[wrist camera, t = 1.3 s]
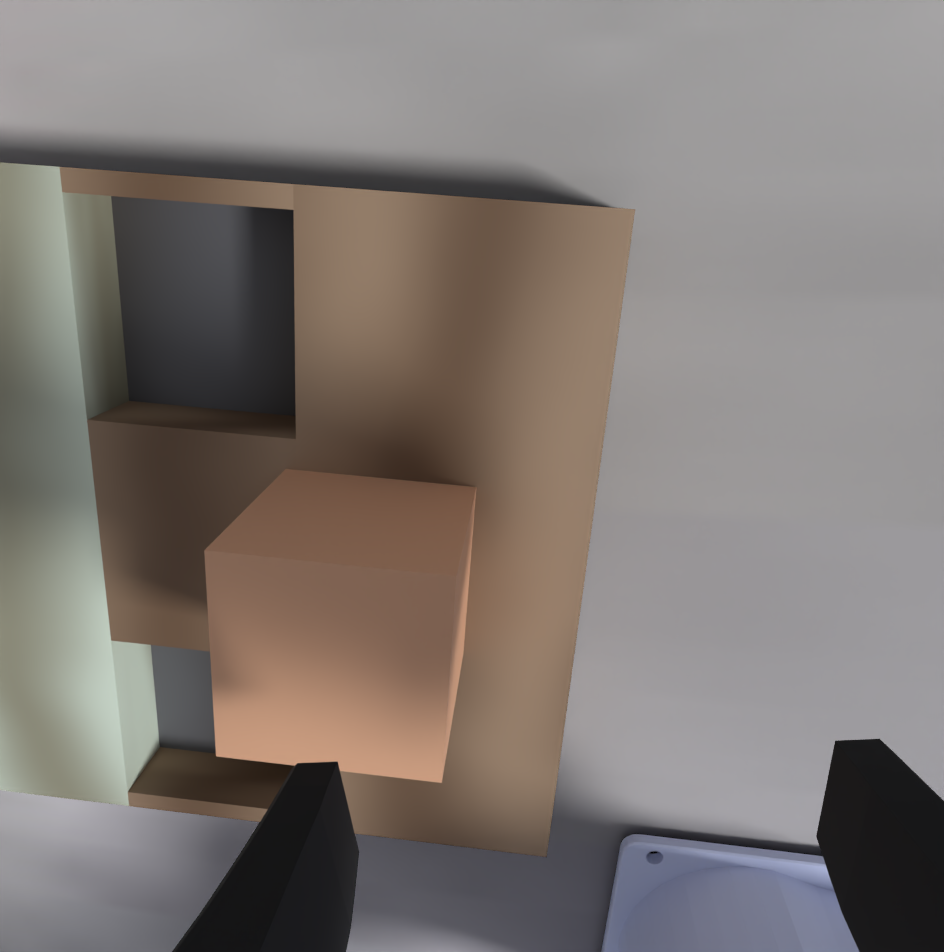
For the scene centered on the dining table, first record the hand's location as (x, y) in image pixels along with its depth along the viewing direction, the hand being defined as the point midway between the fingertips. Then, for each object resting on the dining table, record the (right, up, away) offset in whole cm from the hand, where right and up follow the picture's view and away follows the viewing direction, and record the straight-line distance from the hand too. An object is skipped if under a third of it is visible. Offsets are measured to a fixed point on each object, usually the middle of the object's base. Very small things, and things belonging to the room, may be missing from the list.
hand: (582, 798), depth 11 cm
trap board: (-7, +4, +10) cm, 12 cm away
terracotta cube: (-4, +3, +7) cm, 8 cm away
